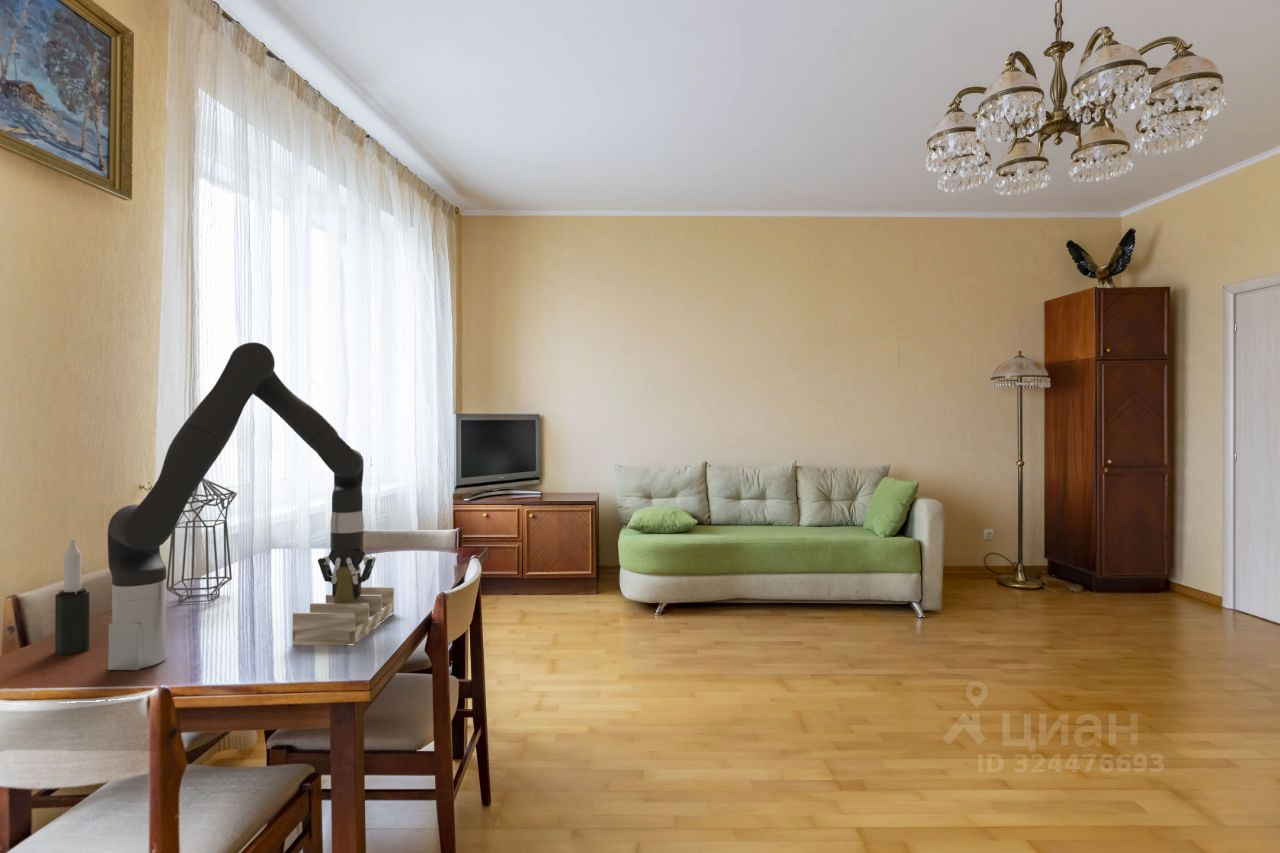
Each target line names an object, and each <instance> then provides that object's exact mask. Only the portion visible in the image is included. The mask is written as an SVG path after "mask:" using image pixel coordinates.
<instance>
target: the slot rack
mask: <svg viewBox="0 0 1280 853" xmlns="http://www.w3.org/2000/svg"><path fill="white" fill-rule="evenodd" d="M334 600H335V599H334V597H333V595H332V593H331V594H330V593H329V594H325V602H311V603H310V604H309V612H293V613H292V635H291V636H292V637H291V638H292V644H291V645H292V646H349V645H348V644H355V643H356V642H357V641H358V640H360V639H361V638H362V637H363V636H365V635H366V634H367V633H368V632H370V631H371V630H372V629H373V628H374V627H376V626H377V625H378V624H379V623H380V622H382V621H383V620H384V619H385V618H386V617H388V616H389V615H390V614H391V613H393V612H394V611H395V609H394V608H395V602H394V600H395V587H394V586H361V595H360V596H359V597H358V600H359V603H334ZM394 613H395V612H394ZM376 628H377V627H376ZM371 632H372V631H371ZM371 632H370V633H371ZM367 635H368V634H367ZM367 635H366V636H367ZM366 636H365V637H366ZM362 639H363V638H362ZM362 639H361V640H362ZM361 640H360V641H361ZM358 642H359V641H358ZM358 642H357V643H358ZM357 643H356V644H357ZM345 644H347V645H345ZM356 644H355V645H356Z"/></svg>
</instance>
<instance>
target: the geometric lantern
mask: <svg viewBox="0 0 1280 853" xmlns="http://www.w3.org/2000/svg"><path fill="white" fill-rule="evenodd" d="M200 483H201V485H202V486H203V489H204V491H203V492H204V494H198V493H197V492H198V489H199V486H200V484H199V485H198V487H197V488H196V489H195V491H194V492H193V494H192V495H191V497H190V498H191V501H188V502H187V504H189V505H190V506H189V507H190V509H186V510H183V512H182V514H181V516H180V518H179V520H178V522H177V524H176V526H175V528H174V530H173V532H172V533H171V535H170V542H169V544H170V545H169V555H168V556H169V557H168V565H167V572H166V591H168V592H170V593H172V594H174V595H175V596H177V597H178V602H177V603H178V604H189V603H192V604H193V603H203V602H211V601H213V600H215V599H216V598H218V597H219V596H221V595H220V593H221V592H220V590H221V588H223V587H224V586H225V585H226V584H228V582H230V581H231V580H233V578H232V577H233V575H232V574H233V573H232V564H231V554H230V540H229V531H228V530H229V529H228V520H227V518H228V509H229V506H230V505H231V504H232V502H233V501H234V499H235V498H236V497H237V495H238V492H235V491H233V490H231V489H229V488H227V487H224V486H222V485H220V484H218V483H216V482H213V481H211V480H208V479H207V478H205V477H204V478H203V479H202V481H201V482H200ZM217 487H218V488H220V489H222V490H224V491H227V492H225V493H223V492H222V491H221V490H220V489H218V488H217ZM197 497H204V498H206V499H199V498H197ZM209 497H211V498H209ZM215 497H216V498H215ZM226 500H227V501H226ZM213 501H214V502H215V503H214V504H213V503H212V502H213ZM218 501H219V502H218ZM225 501H226V502H227V503H226V506H225ZM195 503H201V505H198V506H197V507H196V508H193V504H195ZM187 504H186V505H187ZM219 505H221V506H219ZM206 506H211V507H216V508H218V511H219V512H220V513H219V515H218V517H217V518H216V519H209V520H207V519H205V520H203V518H202V517H201V516H200V513H201V512H202V510H203V509H204V508H205V507H206ZM220 507H221V508H220ZM197 510H198V512H197ZM224 510H225V515H224V513H223V511H224ZM192 512H193V513H194V515H195V516H194V518H193V519H192V520H190V518H188V516H187V515H186V513H192ZM183 516H184V517H185V518H186V519H187V521H186V520H183V521H181V520H182V518H184V517H183ZM221 516H222V517H223V519H220V517H221ZM197 518H198V520H196V519H197ZM199 522H200V523H201V524H202V525H196V523H199ZM206 522H214V524H212V525H207V524H206ZM217 522H218V523H217ZM189 523H191V524H192V526H191V525H188V524H189ZM182 524H185V526H183V525H182ZM222 524H223V557H224V558H223V562H224V563H223V564H224V565H223V566H224V576H219V567H218V552H217V551H218V550H217V537H216V526H220V525H222ZM180 525H182V526H180ZM184 528H185V530H184V545H183V556H182V557H183V558H182V569H181V571H182V572H181V579H180V580H178V581H176V582H175V558H176V557H175V555H176V554H175V552H176V550H175V548H176V546H175V545H176V529H184ZM189 528H191V529H192V544H191V545H192V547H191V550H192V551H191V553H192V555H191V576H190V577H189V578H185V571H186V570H185V567H186V556H187V541H188V529H189ZM196 528H197V529H198V528H205V563H206V564H205V567H206V568H205V570H206V577H205V576H204V577H195V574H194V572H195V544H196V543H195V539H196V538H195V535H196ZM209 528H212V535H213V550H214V552H213V553H214V564H215V565H214V566H215V576H210V572H209V534H208V532H209V531H208V529H209ZM227 565H228V571H227ZM227 572H229V573H228V574H229V576H228V574H227ZM170 575H171V585H170ZM219 579H222V580H221V581H220V580H219ZM225 579H226V580H225ZM194 580H195V581H196V580H198V581H199V580H206V587H193V581H194ZM210 580H216V585H213V586H210ZM185 581H190V586H189V587H188V586H187V585H186V582H185ZM180 583H182V584H183V586H184V587H175V586H177V585H179V584H180ZM211 589H212V591H211V592H210V590H211ZM194 590H199V591H200V590H201V591H202V590H204V591H205V590H206V592H207V593H204V594H193V591H194ZM178 591H183V592H182V593H179V592H178ZM189 592H190V594H189ZM185 593H186V594H185ZM194 596H195V597H206V600H205V599H204V600H194V601H193V600H190V601H184V600H186V599H187V597H188V598H191V597H192V598H193V597H194ZM210 598H211V599H210Z"/></svg>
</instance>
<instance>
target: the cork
mask: <svg viewBox="0 0 1280 853" xmlns="http://www.w3.org/2000/svg"><path fill="white" fill-rule="evenodd" d="M355 570H356V571H357V570H358V568H356V569H355ZM336 577H337V579H338V580H337V588H336V594H335V600H334V603H359V600H358V598H357V599H354V595H353V588H352V585H353V584H354V583H353V579H352V577H353V576H352V575H351V571H350V569H349V567H348V566H341V567H340V568H338V569H337V570H336Z"/></svg>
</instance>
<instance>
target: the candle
mask: <svg viewBox="0 0 1280 853" xmlns="http://www.w3.org/2000/svg"><path fill="white" fill-rule="evenodd" d="M54 598H55V601H54V602H55V603H54V604H55V606H54V607H55V612H54V614H55V615H54V616H55V617H54V620H55V622H54V632H55V634H54V636H55V637H54V645H55V646H54V652H55V654H57V655H59V656H70V655H73V654H77V652H78V653H81V652H80V651H83V652H86V651H85V650H87V651H89V650H90V608H91V607H90V600H91V599H90V598H91V596H90V591H87V588H84V587H82V552H81V551H80V550H79V549H78V547H77V543H76V538H74V537H72V538H70V543H69V546H68V548H67V550H66V551H65V553H64V554H63V590H60V591H59V592H58V593H56V594H55V597H54ZM88 649H89V650H88Z"/></svg>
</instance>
